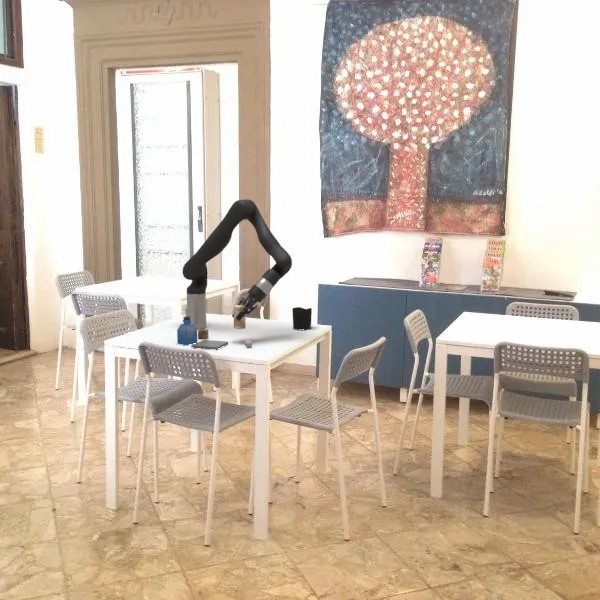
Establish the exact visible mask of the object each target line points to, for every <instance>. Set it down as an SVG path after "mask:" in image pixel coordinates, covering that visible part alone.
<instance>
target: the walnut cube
mask: <svg viewBox="0 0 600 600" xmlns="http://www.w3.org/2000/svg"><path fill="white" fill-rule="evenodd" d="M207 338H208V339H209V329H206V328H203V329H197V340H208V339H207Z"/></svg>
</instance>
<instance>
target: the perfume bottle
mask: <svg viewBox="0 0 600 600" xmlns="http://www.w3.org/2000/svg"><path fill="white" fill-rule="evenodd" d="M190 322H191V319H190V317H189V316H186V315H185V316H183V319H182V323H181V324H180V325H179V326H178V328H177V331H176V336H177V338H176V339H177V344H178V345H181V344H183V345H182V346H186V345H187V346H190V345H189V344H192V345H193V343H198V329H196V327H195V326H194V324H190Z"/></svg>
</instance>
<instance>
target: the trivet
mask: <svg viewBox="0 0 600 600" xmlns="http://www.w3.org/2000/svg"><path fill="white" fill-rule="evenodd" d="M227 344H228V345H229V341H227V340H226V341H225V340H224V341H223V340H211V339H209V340H208V339H201V340H200V341H197V343H196V344H192V345H190V346H191V348H192V347H193V348H192V349H197V348H201V349H200V350H210V349H218V348H220V347H222V346H224V347H225V345H226V346H228V345H227ZM203 348H205V349H203ZM222 348H223V347H222ZM220 349H221V348H220ZM218 350H219V349H218Z"/></svg>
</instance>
